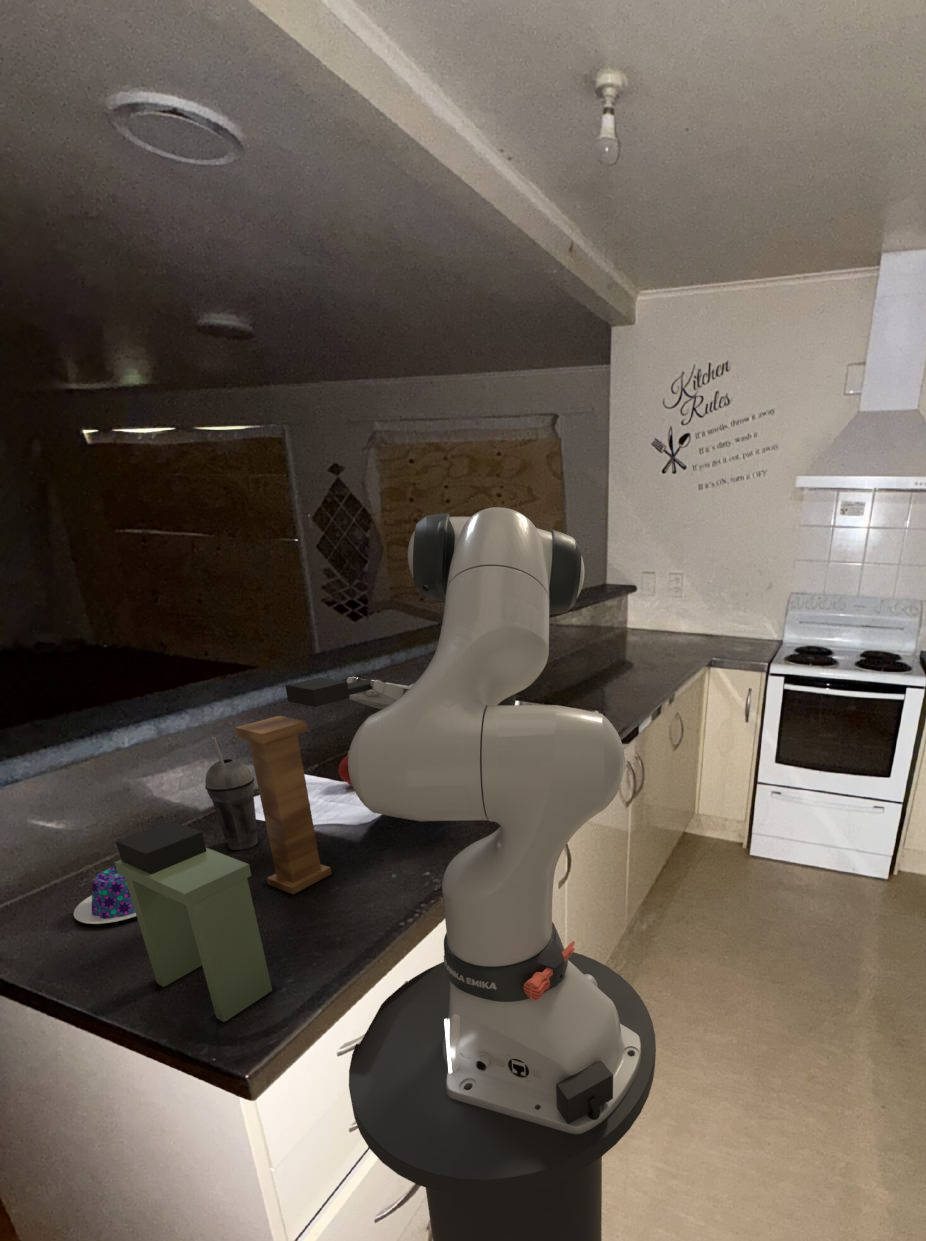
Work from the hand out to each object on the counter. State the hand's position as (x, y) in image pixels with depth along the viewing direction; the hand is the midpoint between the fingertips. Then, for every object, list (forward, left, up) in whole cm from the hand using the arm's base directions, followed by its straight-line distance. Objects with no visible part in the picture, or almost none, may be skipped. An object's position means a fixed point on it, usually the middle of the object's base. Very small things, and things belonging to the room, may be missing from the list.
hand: (362, 683), depth 100 cm
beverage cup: (+22, +11, -29) cm, 38 cm away
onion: (+26, -17, -29) cm, 43 cm away
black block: (-6, +36, -12) cm, 38 cm away
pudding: (+19, +31, -29) cm, 47 cm away
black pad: (0, +4, -1) cm, 4 cm away
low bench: (-10, +36, -29) cm, 47 cm away
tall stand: (+3, +14, -29) cm, 33 cm away
